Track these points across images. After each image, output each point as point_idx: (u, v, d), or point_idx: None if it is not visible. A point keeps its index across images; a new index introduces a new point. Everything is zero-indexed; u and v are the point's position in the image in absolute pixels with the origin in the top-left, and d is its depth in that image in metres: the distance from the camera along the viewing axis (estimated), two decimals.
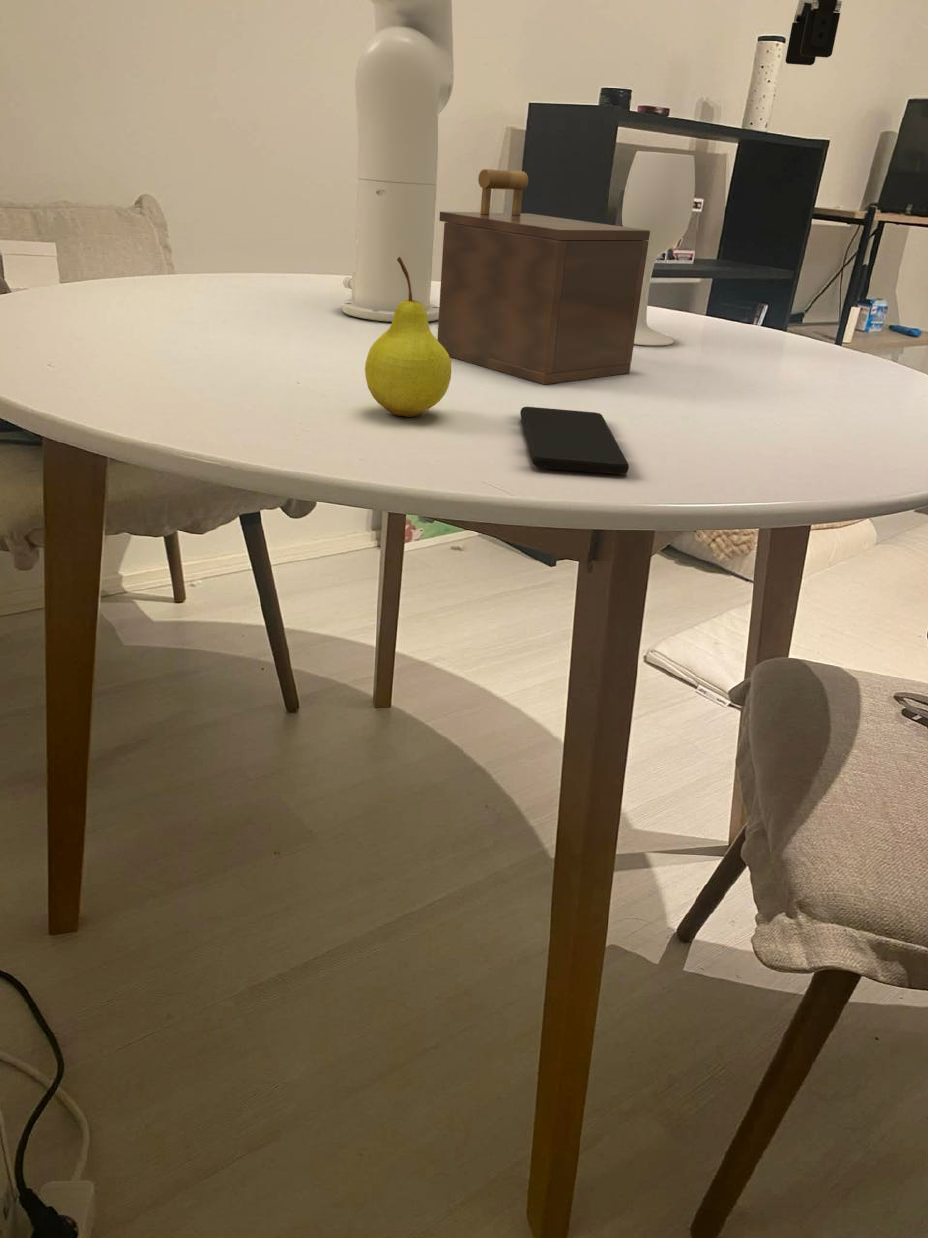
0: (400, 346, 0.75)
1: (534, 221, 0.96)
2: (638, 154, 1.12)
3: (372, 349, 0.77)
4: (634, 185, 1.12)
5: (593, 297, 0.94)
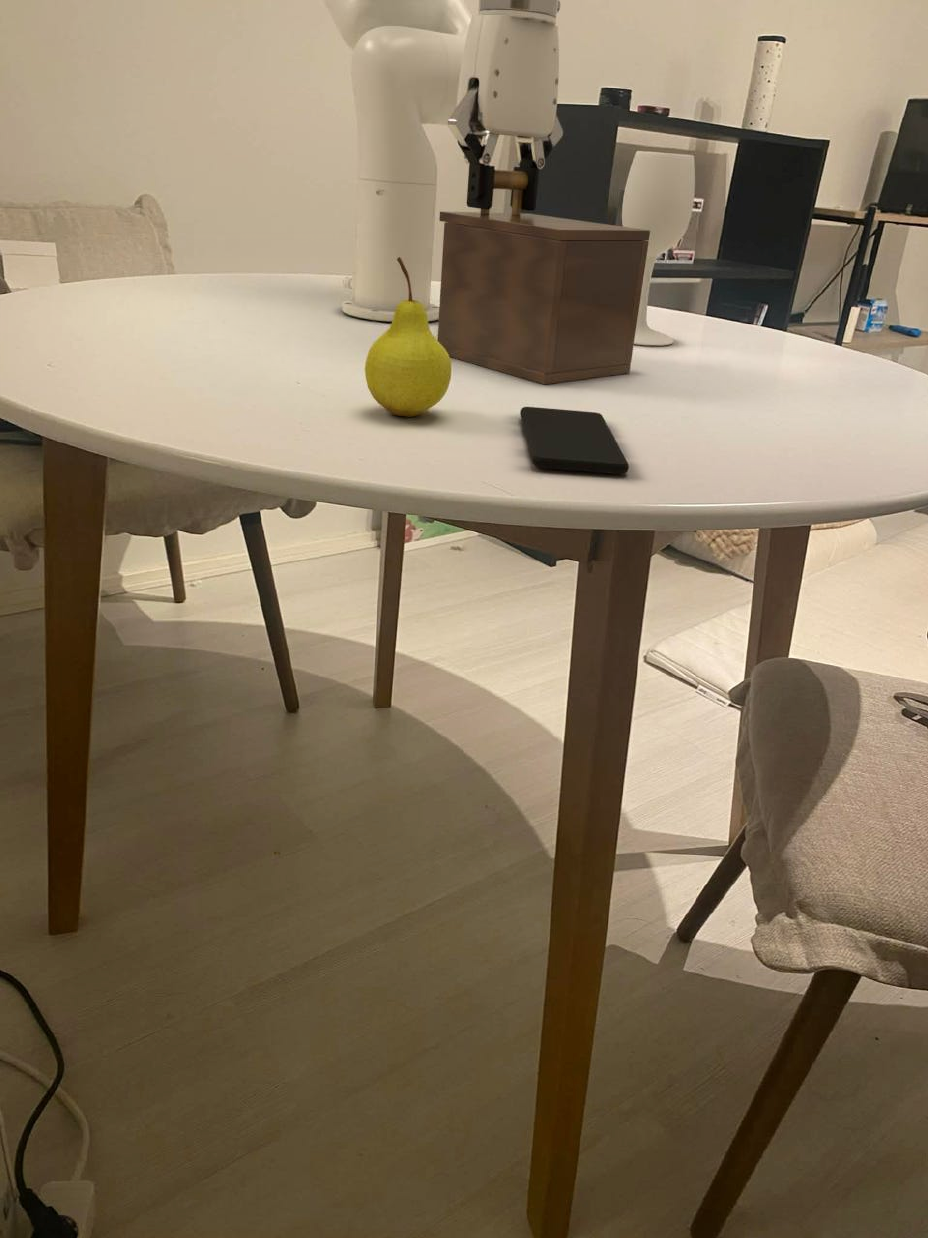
0: (400, 346, 0.75)
1: (534, 221, 0.96)
2: (638, 154, 1.12)
3: (372, 349, 0.77)
4: (634, 185, 1.12)
5: (593, 297, 0.94)
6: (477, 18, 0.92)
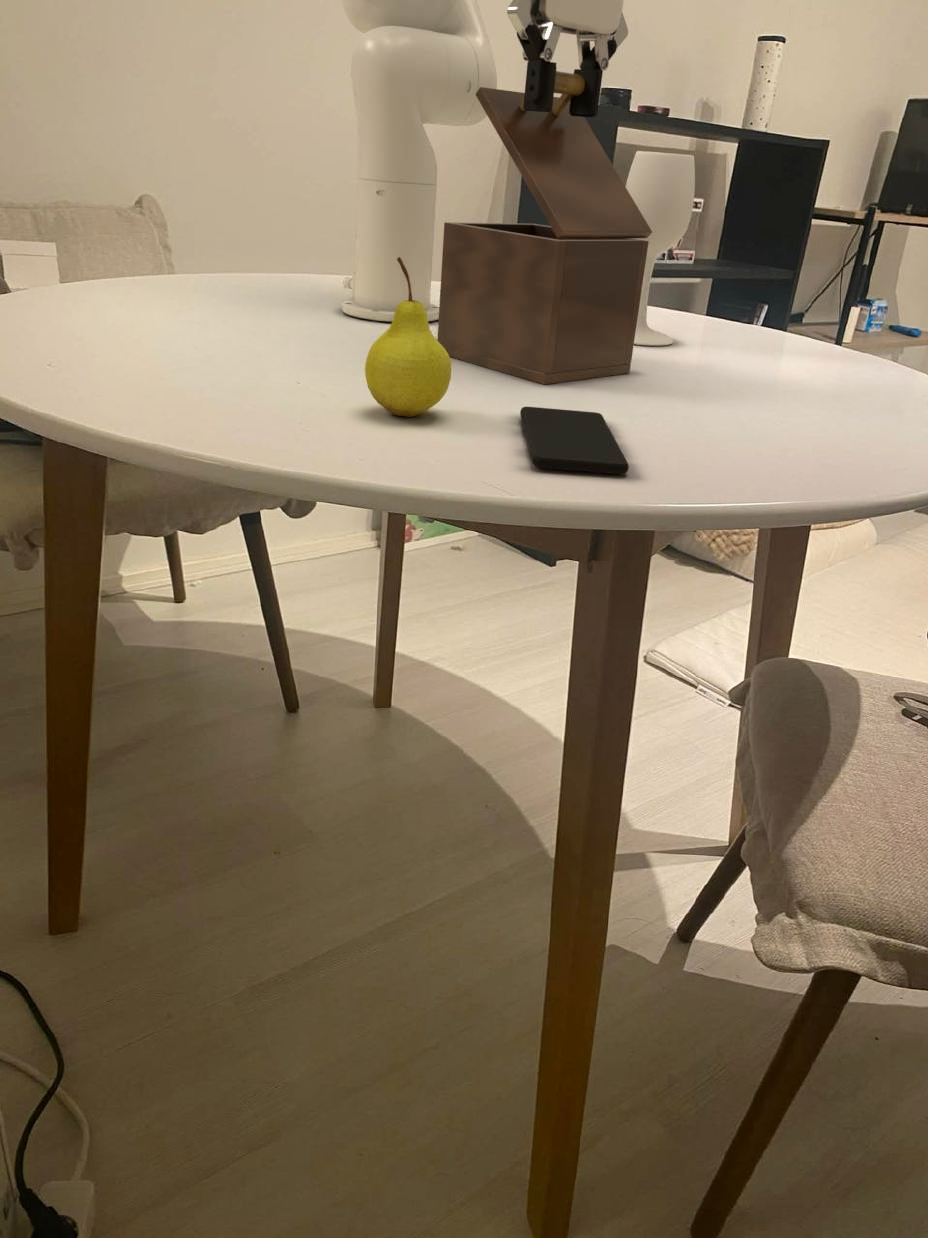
0: (400, 346, 0.75)
1: (557, 166, 0.92)
2: (638, 154, 1.12)
3: (372, 349, 0.77)
4: (634, 185, 1.12)
5: (593, 297, 0.94)
6: None
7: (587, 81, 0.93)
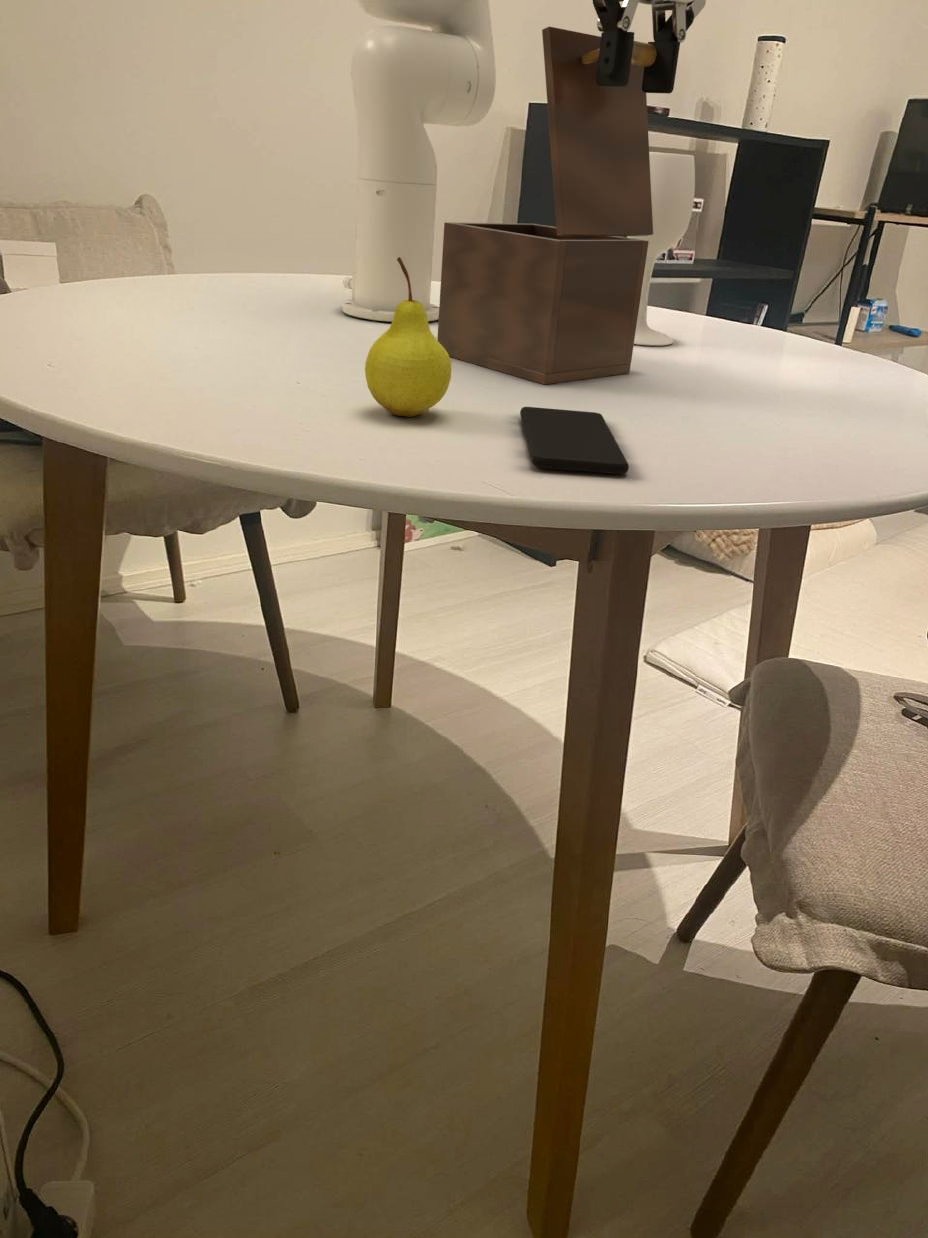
0: (400, 346, 0.75)
1: (590, 145, 0.89)
2: None
3: (372, 349, 0.77)
4: None
5: (593, 297, 0.94)
6: None
7: (663, 54, 0.87)
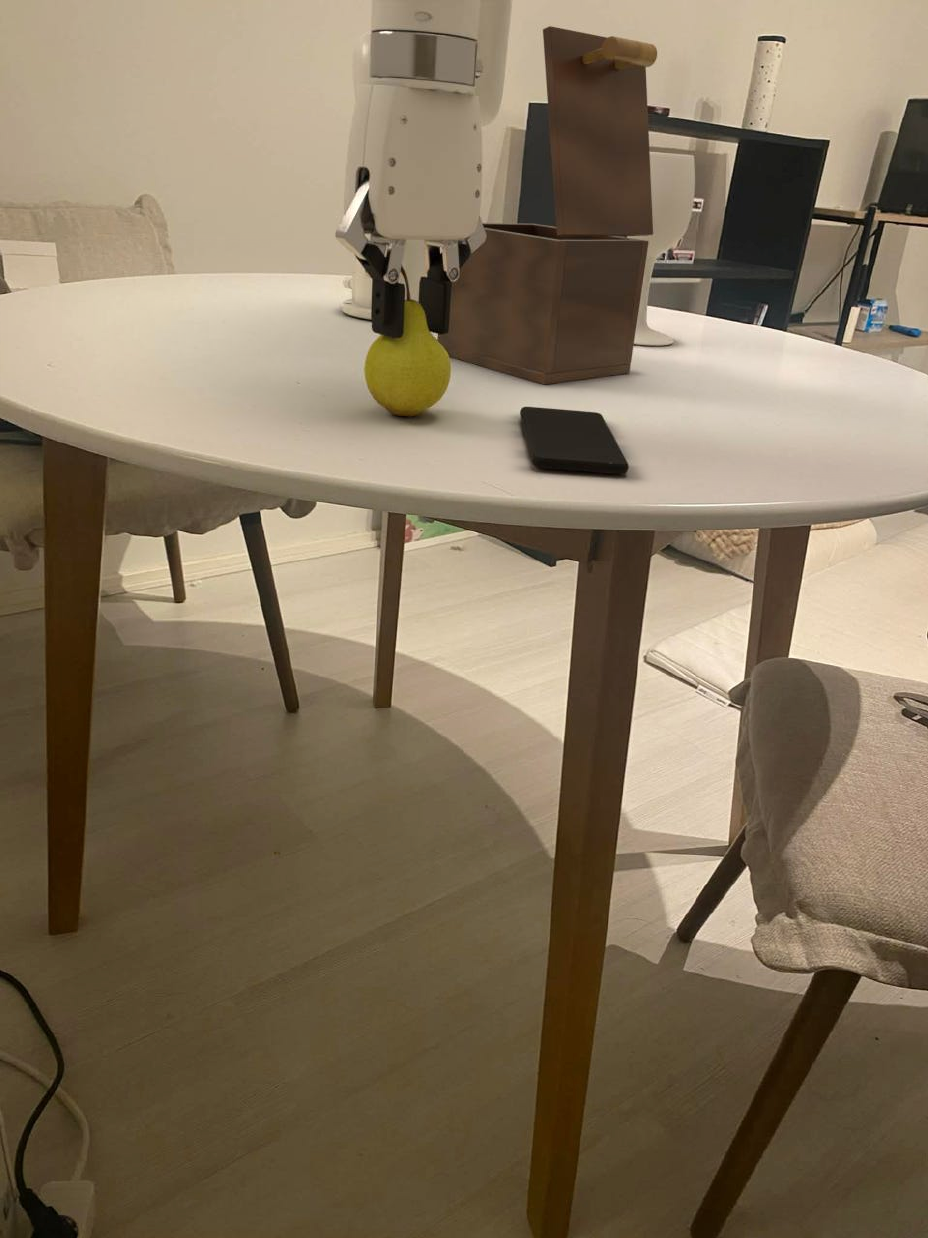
0: (399, 346, 0.75)
1: (590, 145, 0.89)
2: None
3: (371, 349, 0.77)
4: None
5: (593, 297, 0.94)
6: (365, 89, 0.68)
7: (434, 294, 0.77)
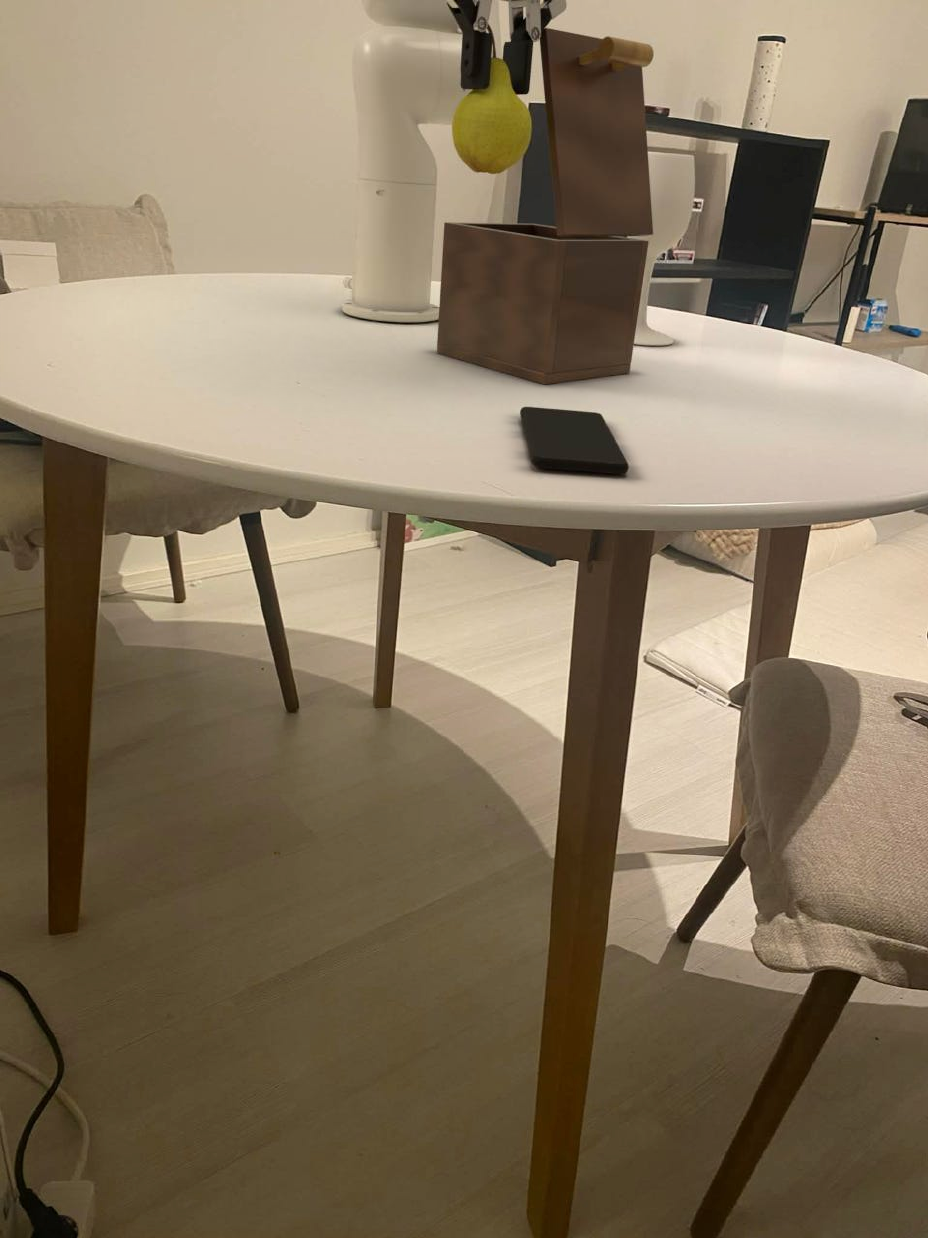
0: (485, 97, 0.82)
1: (588, 145, 0.89)
2: None
3: (459, 105, 0.84)
4: None
5: (593, 297, 0.94)
6: None
7: (517, 54, 0.84)
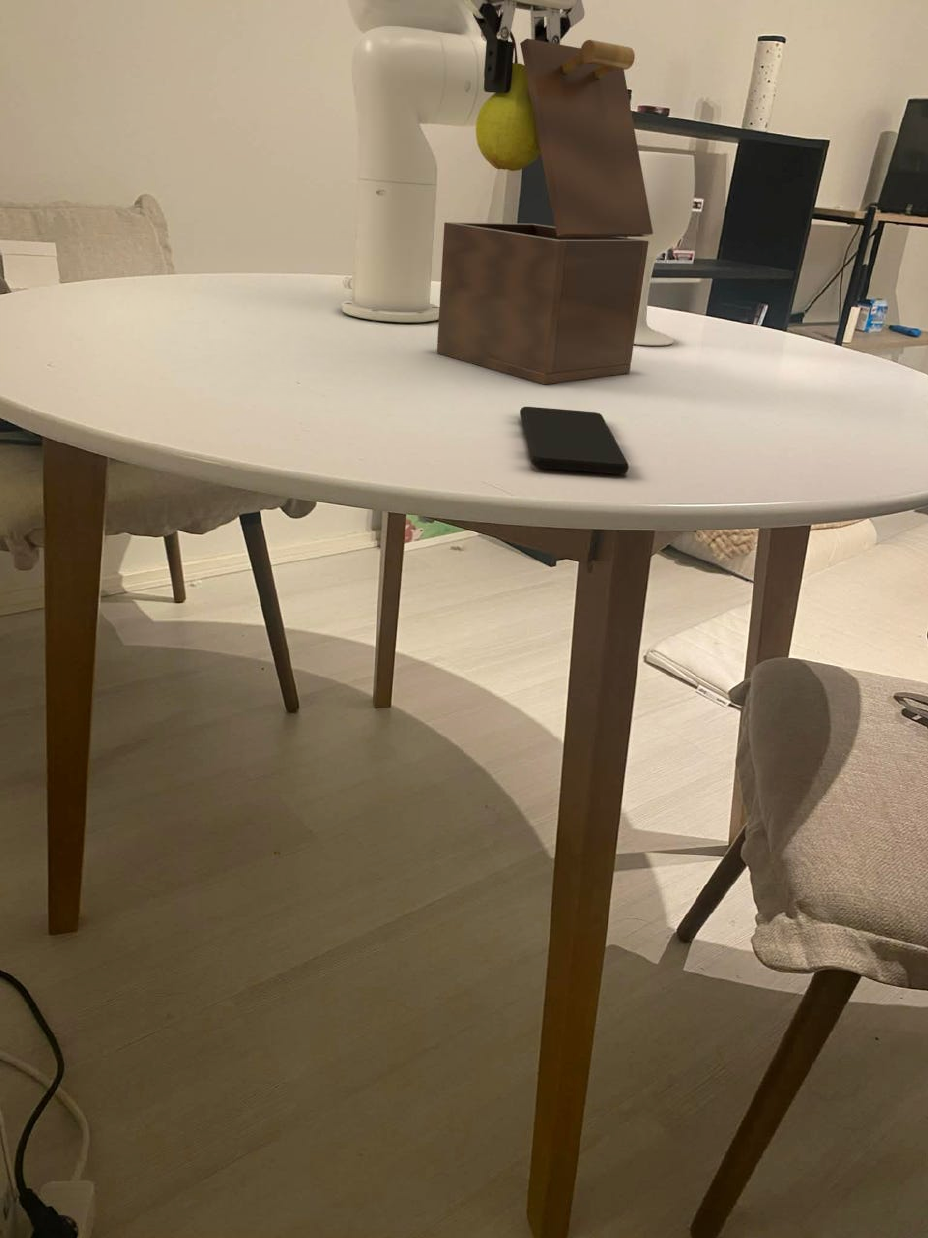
0: (507, 100, 0.89)
1: (579, 148, 0.90)
2: None
3: (482, 107, 0.91)
4: None
5: (593, 297, 0.94)
6: None
7: None
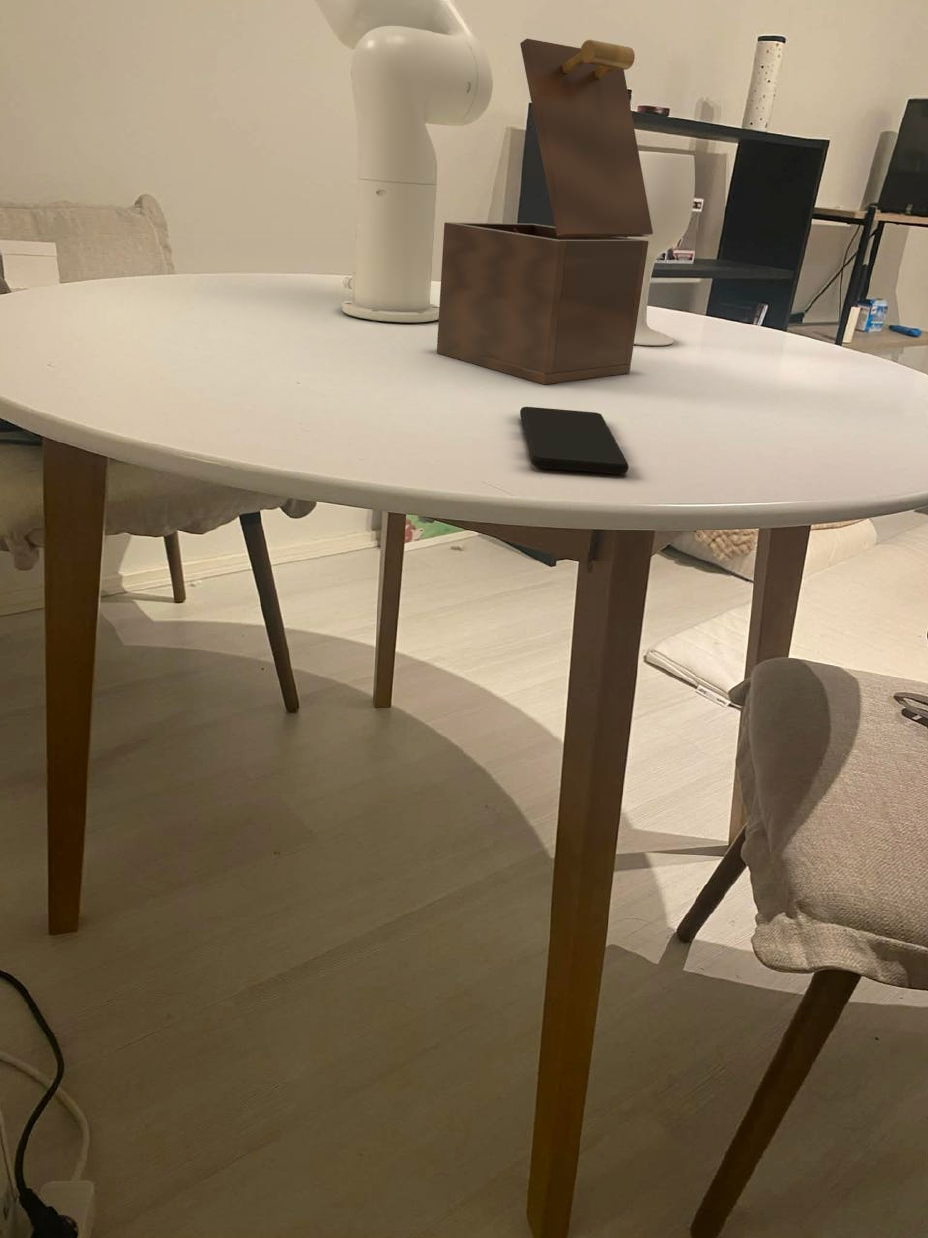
0: None
1: (579, 148, 0.90)
2: None
3: None
4: None
5: (593, 297, 0.94)
6: None
7: None
